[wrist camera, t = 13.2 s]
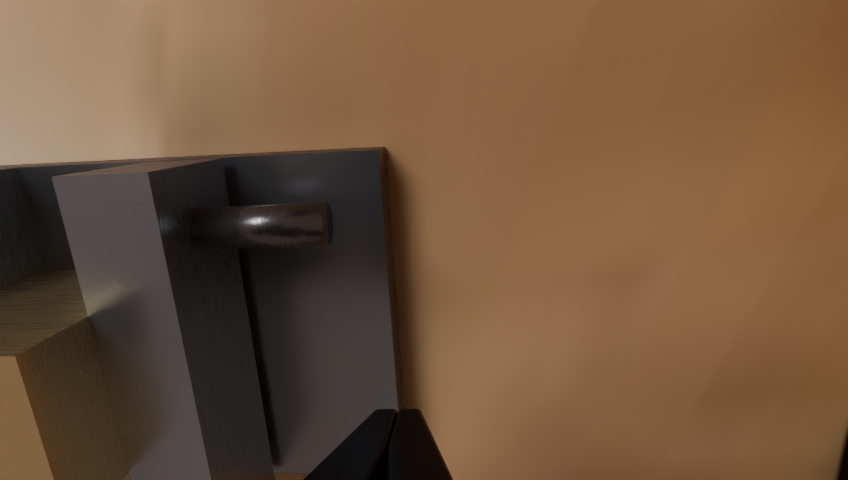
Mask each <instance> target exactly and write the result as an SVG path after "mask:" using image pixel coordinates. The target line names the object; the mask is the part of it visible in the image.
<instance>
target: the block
mask: <svg viewBox="0 0 848 480" xmlns="http://www.w3.org/2000/svg"><path fill="white" fill-rule="evenodd" d="M128 472H129V471H128V467H127V464H126V460H125V456H124V452H123V448H122V444H121V441H120V437H119V433H118V429H117V425H116V422H115V418H114V414H113V410H112V406H111V402H110V399H109V395H108V391H107V387H106V383H105V379H104V376H103V372H102V368H101V364H100V360H99V357H98V353H97V349H96V345H95V341H94V337H93V334H92V330H91V326H90V322H89V318H88V314H87V311H86V307H85V303H84V299H83V295H82V292H81V288H80V284H79V280H78V276H77V272H76V270H73V271H45V272H42V273H40V274H37V275H35V276H32V277H29V278H27V279H24V280H22V281H19V282H16V283H14V284H11V285H8V286H6V287H3V288H1V289H0V480H121V479H122V478H123V477H124V476H125V475H126V474H127V473H128Z"/></svg>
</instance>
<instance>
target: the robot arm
mask: <svg viewBox="0 0 848 480" xmlns="http://www.w3.org/2000/svg"><path fill="white" fill-rule="evenodd" d="M303 480H453V479H452V476H451V474H450V472H449V470H448V468H447V466H446V464H445V462H444V459H443V457H442V455H441V453H440V451H439V449H438V447H437V444H436V442H435V440H434V438H433V436H432V434H431V432H430V429H429V427H428V425H427V423H426V421H425V419H424V417H423V415H422V412H421V411H420V410H419V409H400V410H399V411H398V412H397V410H396V409H377V410H375V411H374V412H373V413H372V414H371V415H369V416H368V417H367V418H366V419H365V420H364V421H363V422H362V423H361V424H360V425H359V426H358V427H357V428H356V429H355V430H354V431H353V432H352V433H351V434H350V435H349V436H348V437H347V438H346V439H345V440H344V441H343V442H342V443H341V444H340V445H339V446H337V447H336V448H335V449H334V450H333V451H332V452H331V453H330V454H329V455H328V456H327V457H326V458H325V459H324V460H323V461H322V462H321V463H320V464H319V465H318V466H317V467H316V468H315V469H314V470H313V471H312V472H311V473H310V474H309V475H308V476H307V477H305V478H304V479H303ZM839 480H848V440H847V444H846V449H845V454H844V458H843V463H842V467H841V472H840V476H839Z"/></svg>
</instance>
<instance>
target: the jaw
mask: <svg viewBox="0 0 848 480" xmlns="http://www.w3.org/2000/svg"><path fill="white" fill-rule="evenodd" d="M52 181H53V184H54V188H55V192H56V196H57V200H58V204H59V207H60V211H61V215H62V219H63V223H64V226H65V230H66V234H67V238H68V242H69V246H70V249H71V253H72V257H73V261H74V265H75V269H76V272H77V276H78V280H79V284H80V288H81V292H82V295H83V299H84V303H85V307H86V311H87V314H88V318H89V322H90V326H91V330H92V334H93V337H94V341H95V345H96V349H97V353H98V357H99V360H100V364H101V368H102V372H103V376H104V379H105V383H106V387H107V391H108V395H109V399H110V402H111V406H112V410H113V414H114V418H115V422H116V425H117V429H118V433H119V437H120V441H121V444H122V448H123V452H124V456H125V460H126V464H127V467H128V471H129V475H130V479H131V480H275V476H274V470H273V464H272V458H271V452H270V445H269V439H268V433H267V427H266V421H265V415H264V409H263V403H262V397H261V390H260V384H259V378H258V372H257V366H256V360H255V354H254V348H253V342H252V335H251V329H250V323H249V317H248V311H247V305H246V299H245V293H244V287H243V280H242V274H241V268H240V262H239V256H238V250H237V249H248V248H278V247H308V246H329V245H330V244H331V242H332V238H333V216H332V211H331V208H330V205H329V204H328V203H327V202H320V203H295V204H271V205H246V206H230V201H229V195H228V189H227V183H226V177H225V171H224V164H223V158H217V159H197V160H176V161H156V162H144V163H138V164H131V165H125V166H118V167H112V168H105V169H99V170H92V171H86V172H79V173H73V174H66V175H60V176H53V177H52Z"/></svg>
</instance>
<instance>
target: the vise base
mask: <svg viewBox="0 0 848 480" xmlns="http://www.w3.org/2000/svg"><path fill="white" fill-rule="evenodd" d="M217 158H223V164H224V171H225V177H226V183H227V189H228V195H229V201H230V206H246V205H271V204H295V203H320V202H327V203H328V204H329V205H330V208H331V211H332V216H333V238H332V242H331V244H330V245H329V246H308V247H278V248H248V249H237V250H238V256H239V262H240V268H241V274H242V280H243V287H244V293H245V299H246V305H247V311H248V317H249V323H250V329H251V335H252V342H253V348H254V354H255V360H256V366H257V372H258V378H259V384H260V390H261V397H262V403H263V409H264V415H265V421H266V427H267V433H268V439H269V445H270V452H271V458H272V464H273V470H274V473H311V472H312V471H313V470H314V469H315V468H316V467H317V466H318V465H319V464H320V463H321V462H322V461H323V460H324V459H325V458H326V457H327V456H328V455H329V454H330V453H331V452H332V451H333V450H334V449H335V448H336V447H337V446H339V445H340V444H341V443H342V442H343V441H344V440H345V439H346V438H347V437H348V436H349V435H350V434H351V433H352V432H353V431H354V430H355V429H356V428H357V427H358V426H359V425H360V424H361V423H362V422H363V421H364V420H365V419H366V418H367V417H368V416H369V415H371V414H372V413H373V412H374V411H375V410H377V409H396V410H397V412H398V411H399V410H400V409H404V403H403V389H402V375H401V361H400V348H399V334H398V320H397V307H396V293H395V279H394V265H393V252H392V238H391V224H390V211H389V197H388V183H387V170H386V156H385V147H370V148H349V149H329V150H309V151H289V152H269V153H248V154H228V155H208V156H188V157H167V158H147V159H127V160H107V161H86V162H66V163H46V164H26V165H5V166H0V289H1V288H3V287H6V286H8V285H11V284H14V283H16V282H19V281H22V280H24V279H27V278H29V277H32V276H35V275H37V274H40V273H42V272H45V271H73V270H76V269H75V265H74V261H73V257H72V253H71V249H70V246H69V242H68V238H67V234H66V230H65V226H64V223H63V219H62V215H61V211H60V207H59V204H58V200H57V196H56V192H55V188H54V184H53V181H52V177H53V176H60V175H66V174H73V173H79V172H86V171H92V170H99V169H105V168H112V167H118V166H125V165H131V164H138V163H144V162H156V161H176V160H197V159H217ZM128 473H129V472H128Z"/></svg>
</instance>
